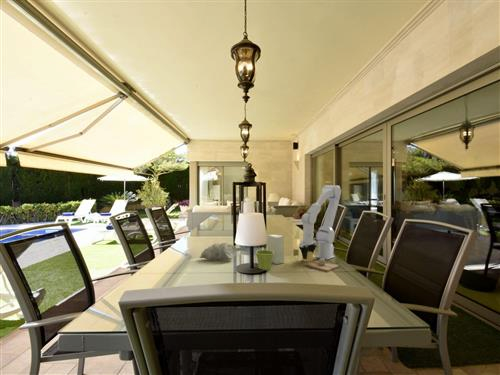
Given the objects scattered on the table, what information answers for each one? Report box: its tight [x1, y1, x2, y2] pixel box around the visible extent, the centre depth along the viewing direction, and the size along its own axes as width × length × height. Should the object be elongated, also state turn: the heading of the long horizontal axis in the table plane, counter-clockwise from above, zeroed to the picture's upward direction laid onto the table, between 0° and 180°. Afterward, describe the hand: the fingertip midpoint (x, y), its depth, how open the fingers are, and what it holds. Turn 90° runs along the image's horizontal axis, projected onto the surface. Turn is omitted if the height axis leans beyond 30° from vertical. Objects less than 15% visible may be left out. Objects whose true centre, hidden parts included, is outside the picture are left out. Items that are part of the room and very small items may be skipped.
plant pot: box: [254, 249, 274, 271], centre depth 143 cm, size 9×9×9 cm
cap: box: [302, 251, 314, 263], centre depth 162 cm, size 6×6×5 cm
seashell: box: [199, 242, 237, 262], centre depth 157 cm, size 16×15×10 cm
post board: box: [303, 258, 341, 273], centre depth 151 cm, size 13×14×4 cm
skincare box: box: [266, 234, 285, 265], centre depth 157 cm, size 8×6×15 cm
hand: (307, 258), depth 162 cm, fingers closed on cap, 5 cm apart
